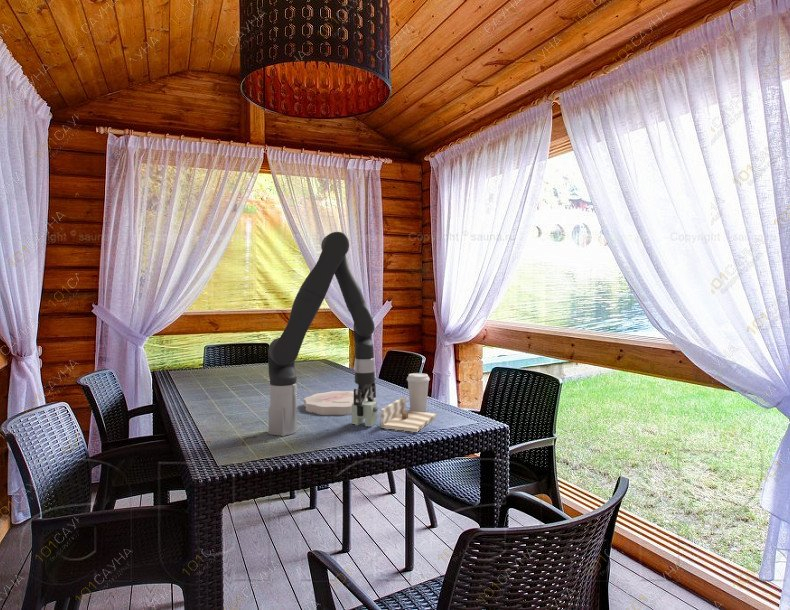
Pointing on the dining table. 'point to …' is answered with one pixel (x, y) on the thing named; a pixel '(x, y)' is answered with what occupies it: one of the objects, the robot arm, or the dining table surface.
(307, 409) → the decorative plaque
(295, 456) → the dining table surface
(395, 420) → the cleat board
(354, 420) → the block
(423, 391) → the coffee cup
